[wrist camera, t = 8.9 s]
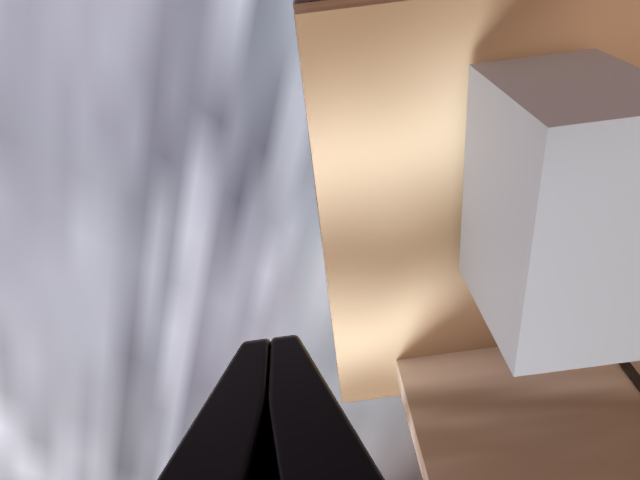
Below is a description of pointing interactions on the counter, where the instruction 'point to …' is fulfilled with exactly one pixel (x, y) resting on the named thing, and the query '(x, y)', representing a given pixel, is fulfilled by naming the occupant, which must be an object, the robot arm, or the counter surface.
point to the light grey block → (554, 208)
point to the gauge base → (444, 234)
